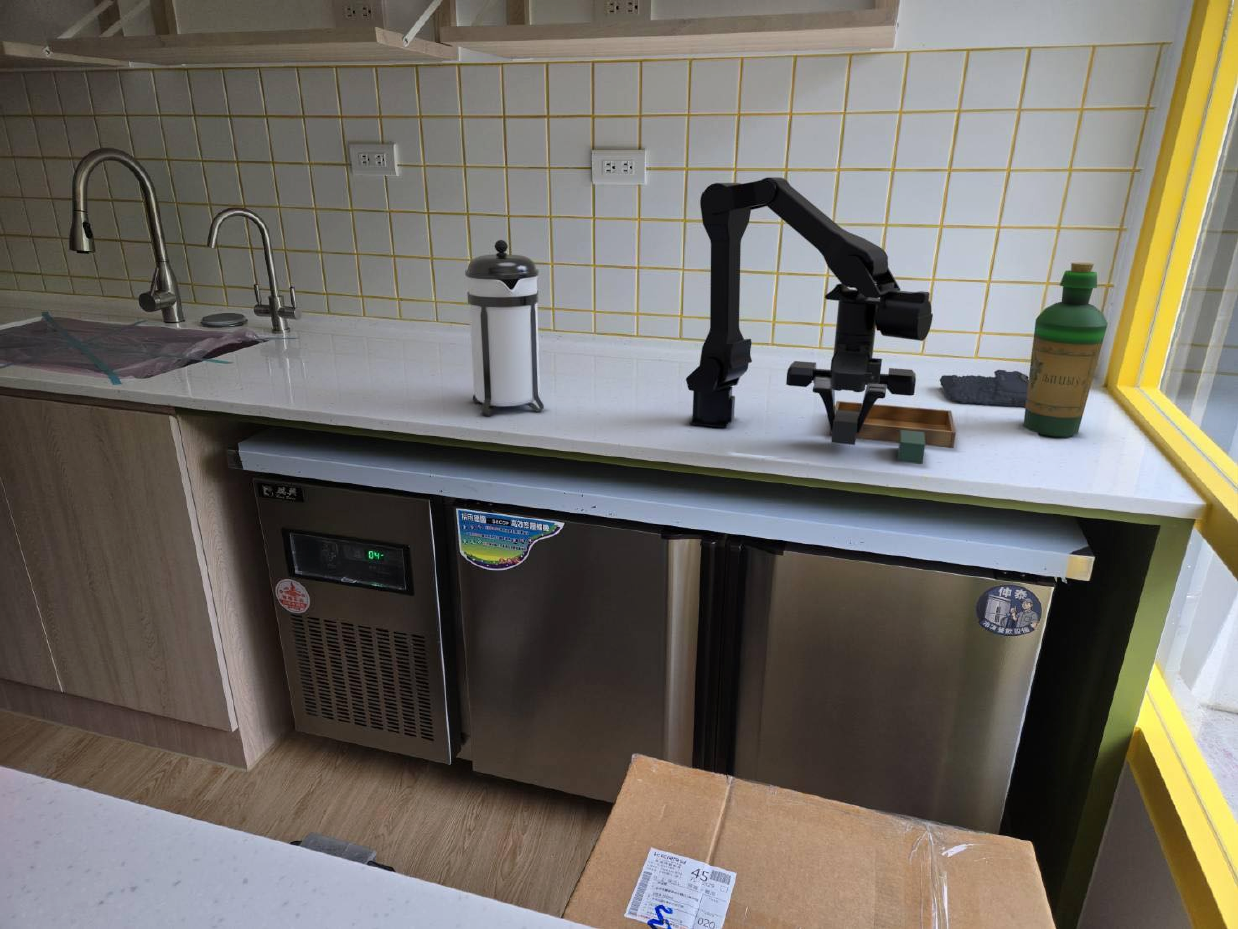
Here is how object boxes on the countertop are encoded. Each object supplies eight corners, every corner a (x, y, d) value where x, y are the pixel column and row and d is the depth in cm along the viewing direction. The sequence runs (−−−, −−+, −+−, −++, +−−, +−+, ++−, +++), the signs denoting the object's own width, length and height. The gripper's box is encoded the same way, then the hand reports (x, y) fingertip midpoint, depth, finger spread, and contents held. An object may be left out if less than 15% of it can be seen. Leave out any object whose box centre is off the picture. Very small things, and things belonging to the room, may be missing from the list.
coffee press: (566, 401, 156) (564, 238, 145) (515, 422, 143) (508, 244, 132) (494, 389, 164) (487, 234, 154) (440, 408, 151) (428, 240, 141)
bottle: (1005, 430, 140) (1035, 263, 131) (1029, 418, 147) (1059, 258, 138) (1072, 444, 133) (1108, 268, 124) (1094, 431, 140) (1129, 263, 131)
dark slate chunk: (933, 384, 170) (936, 361, 169) (1045, 389, 167) (1050, 366, 165) (947, 403, 156) (951, 379, 155) (1071, 410, 153) (1076, 385, 151)
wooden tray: (829, 438, 136) (831, 420, 135) (835, 416, 147) (836, 400, 146) (953, 450, 130) (955, 432, 129) (948, 427, 142) (951, 410, 141)
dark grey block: (831, 442, 126) (833, 420, 125) (834, 430, 132) (836, 409, 131) (854, 445, 125) (857, 423, 124) (856, 432, 131) (859, 411, 130)
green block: (897, 464, 124) (900, 442, 123) (897, 450, 130) (900, 429, 128) (922, 466, 123) (925, 444, 122) (921, 453, 129) (924, 432, 127)
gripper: (785, 337, 118) (777, 440, 123) (922, 346, 113) (907, 453, 118) (794, 324, 128) (787, 420, 133) (920, 332, 123) (907, 431, 128)
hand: (844, 431), depth 128 cm, fingers closed on dark grey block, 3 cm apart
